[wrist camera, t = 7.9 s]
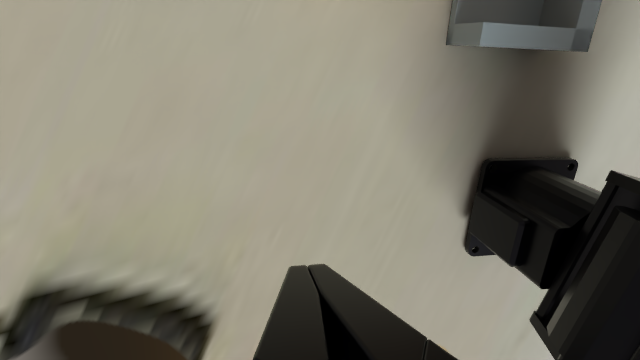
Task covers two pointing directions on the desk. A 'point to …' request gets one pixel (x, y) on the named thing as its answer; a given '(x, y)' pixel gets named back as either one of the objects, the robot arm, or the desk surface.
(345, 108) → the desk surface
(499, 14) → the tray
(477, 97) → the desk surface
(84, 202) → the desk surface
